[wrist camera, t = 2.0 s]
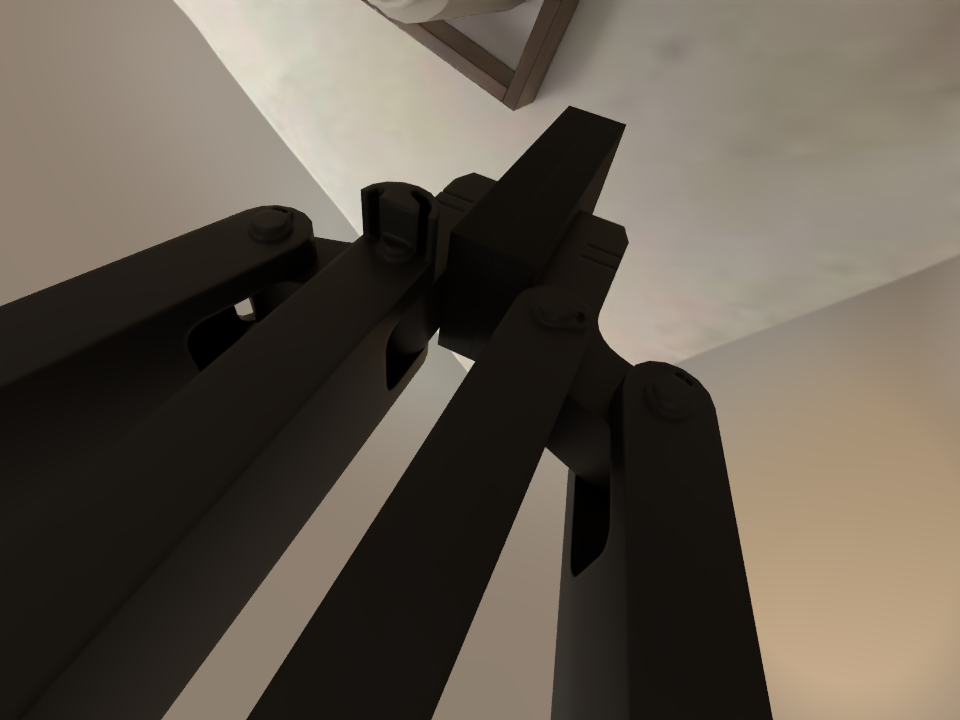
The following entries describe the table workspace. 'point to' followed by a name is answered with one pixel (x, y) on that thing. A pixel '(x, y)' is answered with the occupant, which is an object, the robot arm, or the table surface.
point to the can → (439, 8)
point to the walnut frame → (485, 67)
